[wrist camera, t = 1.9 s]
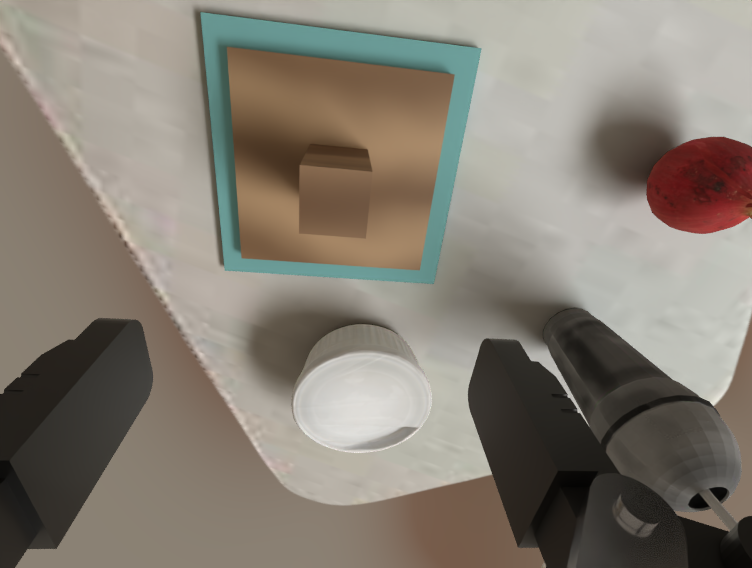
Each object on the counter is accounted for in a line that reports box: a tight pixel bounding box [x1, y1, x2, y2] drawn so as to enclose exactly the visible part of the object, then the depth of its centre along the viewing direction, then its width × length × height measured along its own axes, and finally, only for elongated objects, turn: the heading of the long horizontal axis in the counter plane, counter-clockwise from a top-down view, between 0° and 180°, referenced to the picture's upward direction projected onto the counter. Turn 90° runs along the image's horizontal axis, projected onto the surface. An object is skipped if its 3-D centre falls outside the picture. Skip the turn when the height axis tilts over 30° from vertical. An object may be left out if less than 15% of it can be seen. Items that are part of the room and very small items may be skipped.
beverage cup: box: [543, 308, 742, 531], centre depth 26 cm, size 7×7×20 cm
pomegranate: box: [646, 137, 752, 234], centre depth 24 cm, size 6×6×8 cm
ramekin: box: [291, 324, 432, 453], centre depth 33 cm, size 11×11×5 cm
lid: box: [227, 47, 455, 270], centre depth 23 cm, size 13×13×7 cm
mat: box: [200, 12, 481, 284], centre depth 26 cm, size 16×16×1 cm
